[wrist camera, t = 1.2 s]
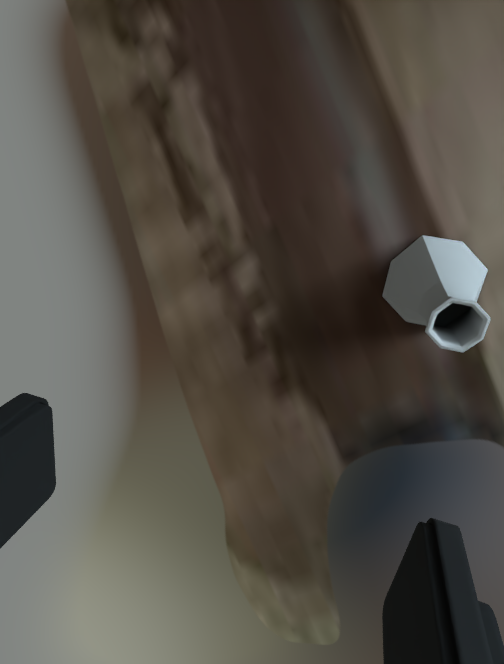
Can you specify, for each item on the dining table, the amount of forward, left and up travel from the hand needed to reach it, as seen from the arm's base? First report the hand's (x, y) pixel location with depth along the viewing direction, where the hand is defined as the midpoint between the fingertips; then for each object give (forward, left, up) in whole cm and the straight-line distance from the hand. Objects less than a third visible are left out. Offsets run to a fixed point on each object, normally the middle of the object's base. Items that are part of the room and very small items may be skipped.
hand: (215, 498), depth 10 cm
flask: (-7, +5, -27) cm, 28 cm away
